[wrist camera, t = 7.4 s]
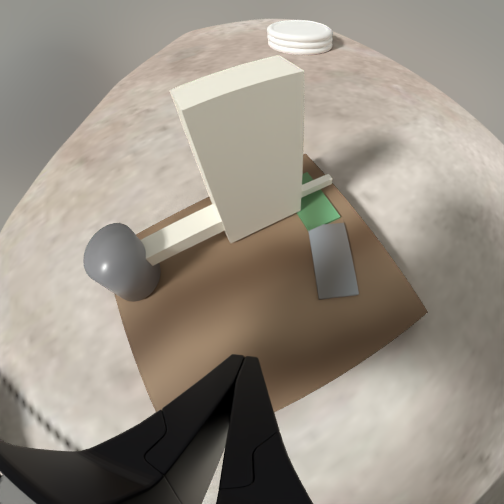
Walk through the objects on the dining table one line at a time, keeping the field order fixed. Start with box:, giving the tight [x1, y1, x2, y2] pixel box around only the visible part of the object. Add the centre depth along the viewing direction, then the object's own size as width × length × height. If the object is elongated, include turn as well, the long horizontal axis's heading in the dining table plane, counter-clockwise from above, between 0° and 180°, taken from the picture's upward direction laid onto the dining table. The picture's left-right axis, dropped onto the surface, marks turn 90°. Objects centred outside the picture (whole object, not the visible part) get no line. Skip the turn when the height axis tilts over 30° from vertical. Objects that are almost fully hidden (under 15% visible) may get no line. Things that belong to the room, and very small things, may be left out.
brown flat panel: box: [114, 154, 428, 412], centre depth 17 cm, size 14×17×2 cm
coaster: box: [267, 20, 333, 55], centre depth 33 cm, size 10×10×4 cm
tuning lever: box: [84, 55, 333, 302], centre depth 14 cm, size 16×4×10 cm, turn 116°
